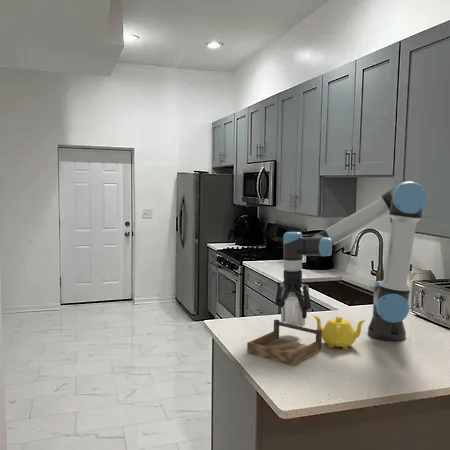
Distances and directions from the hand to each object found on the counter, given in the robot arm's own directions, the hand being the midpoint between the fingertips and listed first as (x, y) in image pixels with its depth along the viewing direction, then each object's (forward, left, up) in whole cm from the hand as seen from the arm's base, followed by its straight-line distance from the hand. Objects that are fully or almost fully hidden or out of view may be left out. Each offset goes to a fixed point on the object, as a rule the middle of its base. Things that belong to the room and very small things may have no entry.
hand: (292, 323), depth 190 cm
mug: (-1, 0, -1) cm, 1 cm away
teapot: (-19, -2, -6) cm, 20 cm away
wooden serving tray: (-6, +17, -6) cm, 19 cm away
